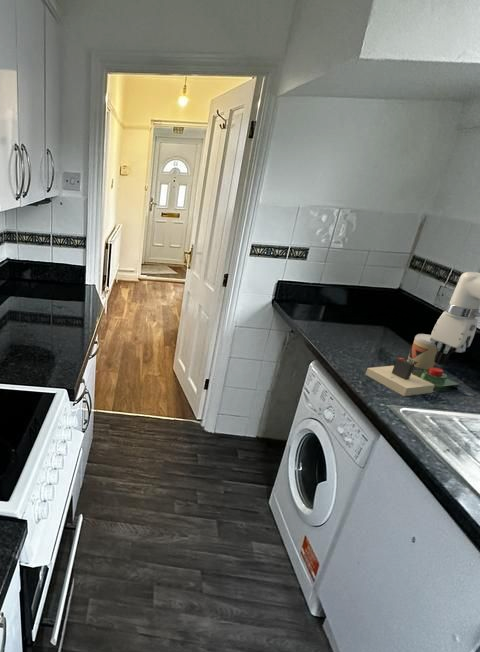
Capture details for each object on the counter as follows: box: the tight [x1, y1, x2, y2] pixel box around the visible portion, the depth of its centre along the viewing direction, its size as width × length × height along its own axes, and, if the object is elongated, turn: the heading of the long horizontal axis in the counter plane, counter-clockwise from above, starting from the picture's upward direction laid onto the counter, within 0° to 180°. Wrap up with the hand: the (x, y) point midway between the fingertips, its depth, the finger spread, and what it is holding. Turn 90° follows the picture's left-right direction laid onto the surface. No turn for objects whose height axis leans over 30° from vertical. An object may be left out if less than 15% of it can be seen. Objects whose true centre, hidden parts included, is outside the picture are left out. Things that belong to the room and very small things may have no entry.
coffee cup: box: [406, 333, 437, 371], centre depth 152 cm, size 9×9×12 cm
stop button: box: [429, 366, 444, 376], centre depth 141 cm, size 4×4×2 cm
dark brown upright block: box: [392, 357, 415, 380], centre depth 139 cm, size 5×2×6 cm, turn 16°
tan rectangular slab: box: [364, 365, 435, 397], centre depth 141 cm, size 15×12×3 cm
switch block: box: [411, 369, 460, 393], centre depth 142 cm, size 11×9×4 cm
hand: (439, 362), depth 140 cm, fingers closed
